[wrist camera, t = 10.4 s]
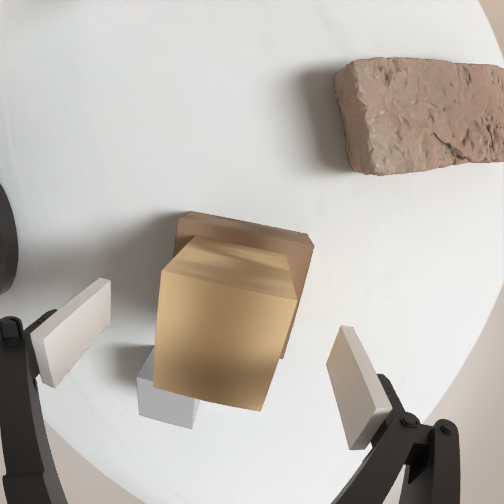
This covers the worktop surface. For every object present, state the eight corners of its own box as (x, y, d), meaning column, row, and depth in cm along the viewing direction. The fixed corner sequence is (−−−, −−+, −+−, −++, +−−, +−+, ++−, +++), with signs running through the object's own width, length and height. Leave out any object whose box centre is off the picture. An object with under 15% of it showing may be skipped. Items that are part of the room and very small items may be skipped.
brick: (352, 177, 22) (373, 180, 17) (327, 75, 20) (342, 54, 15) (498, 158, 20) (529, 160, 16) (480, 75, 18) (509, 66, 13)
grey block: (154, 382, 28) (139, 414, 23) (154, 344, 26) (136, 376, 21) (201, 394, 28) (191, 428, 23) (206, 357, 26) (195, 392, 21)
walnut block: (179, 312, 25) (166, 335, 22) (192, 210, 23) (178, 218, 19) (280, 332, 26) (282, 358, 22) (306, 233, 23) (314, 245, 19)
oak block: (182, 326, 21) (152, 387, 15) (195, 235, 19) (161, 270, 13) (262, 344, 21) (260, 411, 15) (286, 255, 19) (297, 300, 13)
